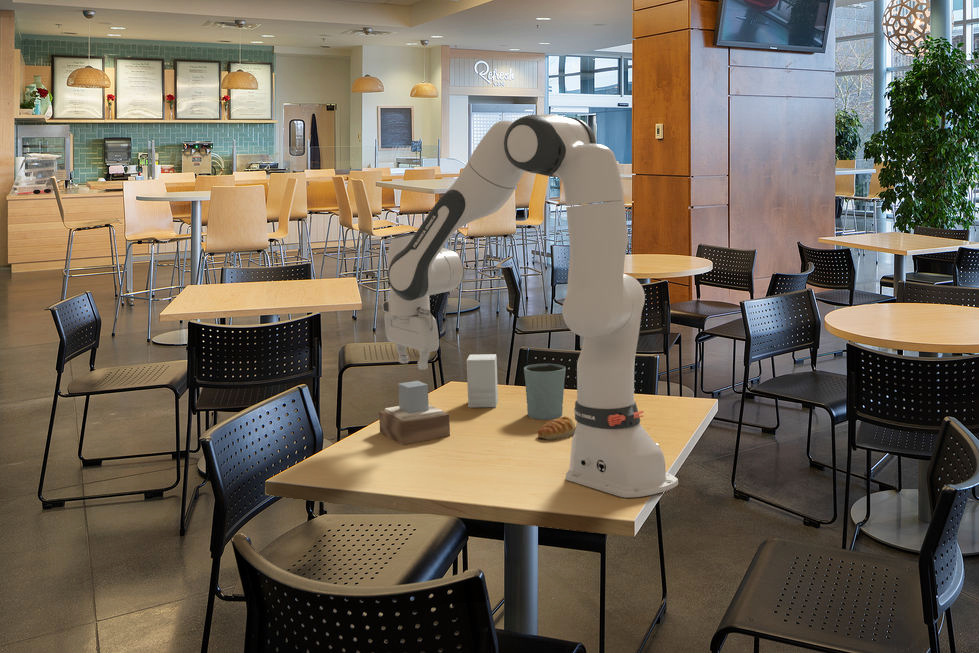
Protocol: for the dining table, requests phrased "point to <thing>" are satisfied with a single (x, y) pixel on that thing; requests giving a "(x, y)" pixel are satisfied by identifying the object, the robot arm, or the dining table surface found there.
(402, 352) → the robot arm
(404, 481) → the dining table surface
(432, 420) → the walnut block
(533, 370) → the teal cup
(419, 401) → the slate block
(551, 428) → the pastry
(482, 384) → the supplement box
